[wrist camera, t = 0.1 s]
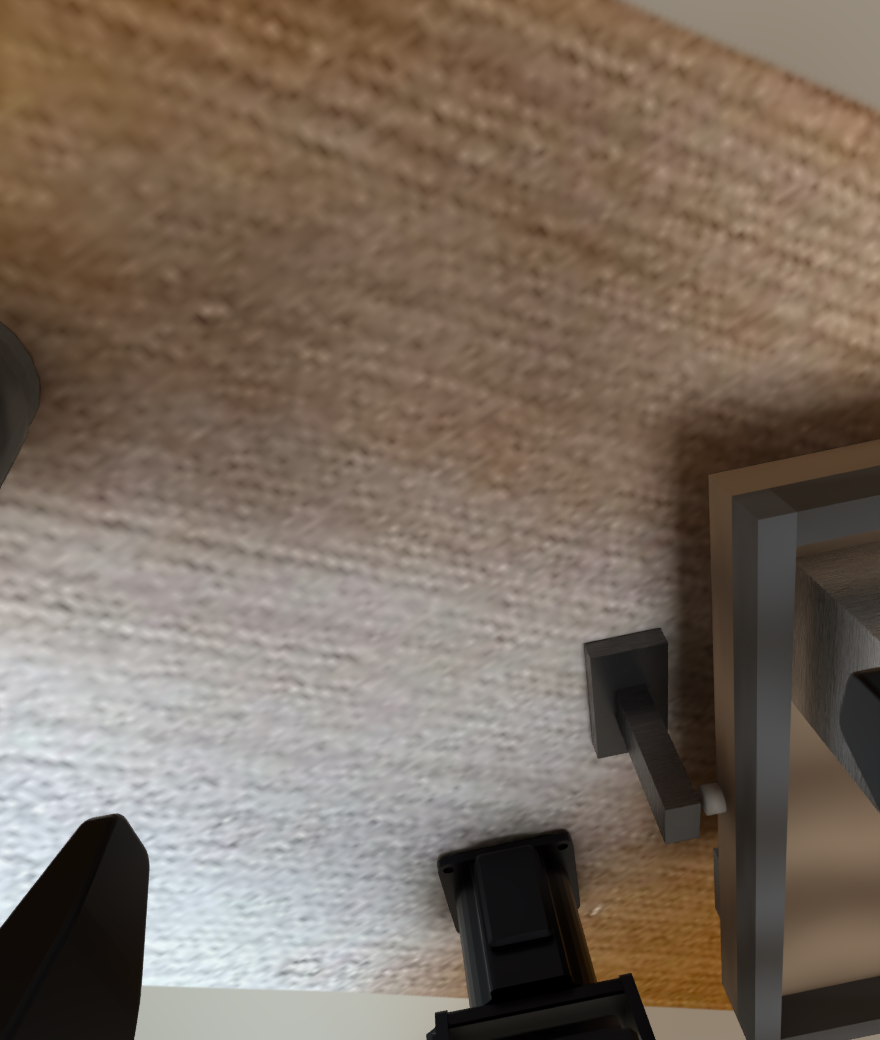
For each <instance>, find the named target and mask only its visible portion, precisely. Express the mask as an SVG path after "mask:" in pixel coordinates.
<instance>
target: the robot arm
mask: <svg viewBox="0 0 880 1040" xmlns="http://www.w3.org/2000/svg"><path fill="white" fill-rule="evenodd" d="M839 725H840V729H841V732H842V735H843V737H844V739H845V741H846V743H847V745H848V747H849V749H850V751H851V753H852V756H853V758H854V760H855V762H856V764H857V766H858V768H859V770H860V772H861V774H862V776H863V778H864V780H865V782H866V784H867V786H868V788H869V790H870V792H871V794H872V796H873V798H874V800H875V803H876V805H877V807H878V809H879V811H880V667H876V668H870V669H865V670H860V671H855V672H853V673H851V674H850V675H849V677H848V679H847V682H846V686H845V691H844V695H843V699H842V703H841V708H840V712H839ZM437 867H438V874H439V877H440V880H441V883H442V886H443V890H444V893H445V896H446V899H447V902H448V906H449V909H450V912H451V915H452V918H453V921H454V925H455V928H456V931H457V932H458V933H460V938H461V945H462V953H463V960H464V968H465V975H466V982H467V990H468V997H469V1004H470V1008H468V1009H463V1010H458V1011H453V1012H448V1011H447V1010H446V1011H441V1012H436V1013H435V1025H436V1026H435V1028H434V1029H433V1030H432V1031H430V1032H429V1033H428V1034H427V1035H426V1037H427V1040H656V1039H655V1037H654V1034H653V1031H652V1028H651V1026H650V1023H649V1020H648V1017H647V1015H646V1012H645V1009H644V1006H643V1004H642V1001H641V998H640V995H639V993H638V990H637V987H636V984H635V982H634V979H633V976H632V974H631V973H628V974H623V975H619V978H616V979H611V980H606V981H601V982H597V980H596V976H595V972H594V969H593V965H592V961H591V958H590V954H589V950H588V947H587V943H586V939H585V935H584V932H583V928H582V924H581V921H580V917H579V913H578V910H577V909H578V908H579V907H580V898H579V890H578V882H577V873H576V865H575V857H574V848H573V843H572V839H571V836H570V835H569V834H568V833H558V834H553V835H548V836H543V837H538V838H534V839H529V840H524V841H519V842H514V843H509V844H505V845H500V846H495V847H490V848H485V849H481V850H476V851H471V852H466V853H461V854H456V855H452V856H447V857H443V858H441V859H440V860H439V861H438V862H437ZM148 884H149V858H148V854H147V851H146V849H145V847H144V845H143V844H142V842H141V841H140V839H139V838H138V836H137V835H136V833H135V832H134V830H133V829H132V827H131V826H130V824H129V822H128V821H127V819H126V818H125V817H124V816H123V815H120V814H118V813H116V814H110V815H104V816H99V817H94V818H91V819H88V820H86V821H85V822H84V823H82V824H81V825H80V826H79V828H78V829H77V830H76V831H75V833H74V834H73V835H72V837H71V838H70V839H69V840H68V842H67V843H66V844H65V845H64V847H63V848H62V849H61V851H60V852H59V853H58V854H57V856H56V857H55V858H54V860H53V861H52V862H51V863H50V865H49V866H48V867H47V869H46V870H45V871H44V872H43V874H42V875H41V876H40V877H39V879H38V880H37V881H36V883H35V884H34V885H33V886H32V888H31V889H30V890H29V892H28V893H27V894H26V895H25V897H24V898H23V899H22V901H21V902H20V903H19V904H18V906H17V907H16V908H15V909H14V911H13V912H12V913H11V915H10V916H9V917H8V918H7V920H6V921H5V922H4V924H3V925H2V926H1V927H0V1040H134V1037H135V1031H136V1024H137V1018H138V1011H139V1005H140V997H141V986H142V974H143V959H144V944H145V929H146V914H147V899H148Z"/></svg>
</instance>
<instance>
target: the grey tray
mask: <svg viewBox="0 0 880 1040" xmlns="http://www.w3.org/2000/svg"><path fill="white" fill-rule="evenodd" d="M708 476H709V513H710V550H711V588H712V625H713V662H714V700H715V737H716V774H717V782H713V783H708V784H703V785H699V786H698V788H697V790H698V796H699V800H700V802H701V806H702V808H703V810H704V812H705V814H706V815H707V816H709V815H714V814H718V848H713V851H714V883H715V908H716V910H717V913H718V915H719V917H720V924H721V961H722V984H723V987H724V989H725V991H726V994H727V996H728V998H729V1000H730V1003H731V1005H732V1007H733V1010H734V1012H735V1014H736V1016H737V1019H738V1021H739V1023H740V1026H741V1028H742V1030H743V1033H744V1035H745V1037H746V1040H851V1039H855V1038H860V1037H865V1036H870V1035H875V1034H880V813H879V812H878V811H877V809H876V808H875V807H874V806H873V804H872V803H871V802H870V800H869V799H868V798H867V797H866V795H865V794H864V793H863V792H862V790H861V789H860V788H859V787H858V785H857V784H856V783H855V781H854V780H853V779H852V778H851V776H850V775H849V774H848V773H847V771H846V770H845V769H844V767H843V766H842V765H841V764H840V762H839V761H838V760H837V759H836V757H835V756H834V755H833V753H832V752H831V751H830V750H829V748H828V747H827V746H826V745H825V743H824V742H823V741H822V740H821V738H820V737H819V736H818V734H817V733H816V732H815V731H814V729H813V728H812V727H811V726H810V724H809V723H808V722H807V720H806V719H805V718H804V717H803V715H802V714H801V713H800V712H799V710H798V709H797V708H796V707H795V705H794V704H793V703H792V701H791V696H792V664H793V633H794V602H795V571H796V558H799V557H803V556H808V555H813V554H818V553H823V552H827V551H832V550H837V549H842V548H847V547H852V546H856V545H861V544H866V543H871V542H876V541H880V439H878V440H873V441H869V442H864V443H859V444H854V445H849V446H845V447H840V448H835V449H830V450H825V451H820V452H816V453H811V454H806V455H801V456H796V457H792V458H787V459H782V460H777V461H772V462H768V463H763V464H758V465H753V466H748V467H743V468H739V469H734V470H729V471H724V472H719V473H715V474H710V475H708Z"/></svg>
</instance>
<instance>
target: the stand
mask: <svg viewBox="0 0 880 1040" xmlns="http://www.w3.org/2000/svg"><path fill="white" fill-rule="evenodd" d="M584 647H585V659H586V671H587V683H588V695H589V707H590V719H591V731H592V743H593V746H594V749H595V752H596V755H597V758H598V759H599V758H604V757H609V756H613V755H618V754H623V753H628V752H629V754H630V757H631V759H632V762H633V764H634V767H635V770H636V772H637V775H638V777H639V780H640V782H641V785H642V787H643V790H644V792H645V795H646V797H647V800H648V802H649V805H650V807H651V810H652V812H653V815H654V817H655V820H656V822H657V825H658V827H659V830H660V832H661V835H662V837H663V840H664V842H665V844H670V843H674V842H679V841H684V840H689V839H694V838H699V831H700V811H701V802H700V800H699V798H698V796H697V794H696V792H695V789H694V787H693V785H692V783H691V781H690V779H689V777H688V774H687V772H686V770H685V768H684V766H683V764H682V762H681V759H680V757H679V755H678V753H677V751H676V749H675V746H674V744H673V742H672V740H671V738H670V736H669V734H668V642H667V640H666V638H665V636H664V634H663V632H662V630H661V628H659V629H655V630H650V631H645V632H640V633H635V634H631V635H626V636H621V637H616V638H611V639H606V640H602V641H597V642H592V643H587V644H584Z"/></svg>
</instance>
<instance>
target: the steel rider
mask: <svg viewBox="0 0 880 1040" xmlns="http://www.w3.org/2000/svg"><path fill="white" fill-rule="evenodd" d="M876 667H880V541H876V542H871V543H866V544H861V545H856V546H852V547H847V548H842V549H837V550H832V551H827V552H823V553H818V554H813V555H808V556H803V557H799V558H796V571H795V602H794V633H793V664H792V696H791V701H792V703H793V704H794V705H795V707H796V708H797V709H798V710H799V712H800V713H801V714H802V715H803V717H804V718H805V719H806V720H807V722H808V723H809V724H810V726H811V727H812V728H813V729H814V731H815V732H816V733H817V734H818V736H819V737H820V738H821V740H822V741H823V742H824V743H825V745H826V746H827V747H828V748H829V750H830V751H831V752H832V753H833V755H834V756H835V757H836V759H837V760H838V761H839V762H840V764H841V765H842V766H843V767H844V769H845V770H846V771H847V773H848V774H849V775H850V776H851V778H852V779H853V780H854V781H855V783H856V784H857V785H858V787H859V788H860V789H861V790H862V792H863V793H864V794H865V795H866V797H867V798H868V799H869V800H870V802H871V803H872V804H873V806H874V807H875V808H876V809H877V811H878V812H879V813H880V811H879V809H878V807H877V805H876V803H875V800H874V798H873V796H872V794H871V792H870V790H869V788H868V786H867V784H866V782H865V780H864V778H863V776H862V774H861V772H860V770H859V768H858V766H857V764H856V762H855V760H854V758H853V756H852V753H851V751H850V749H849V747H848V745H847V743H846V741H845V739H844V737H843V735H842V732H841V729H840V725H839V712H840V708H841V703H842V699H843V695H844V691H845V686H846V682H847V679H848V677H849V675H850V674H851V673H853V672H855V671H860V670H865V669H870V668H876Z"/></svg>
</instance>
